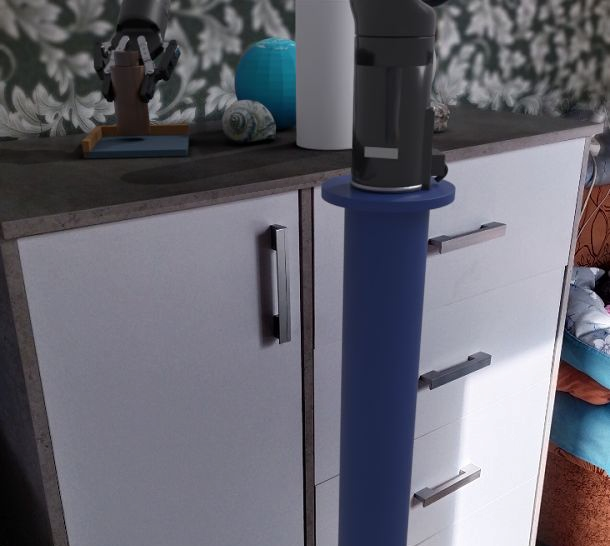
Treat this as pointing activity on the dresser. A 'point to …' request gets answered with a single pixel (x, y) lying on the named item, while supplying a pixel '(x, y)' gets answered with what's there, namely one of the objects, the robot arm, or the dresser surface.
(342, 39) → the tall pillar cylinder
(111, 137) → the corner mat
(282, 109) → the decorative orb
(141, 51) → the robot arm
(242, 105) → the seashell
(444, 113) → the stone
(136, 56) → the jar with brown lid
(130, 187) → the dresser surface
